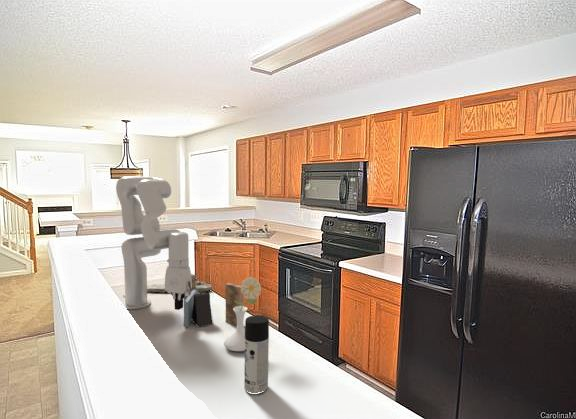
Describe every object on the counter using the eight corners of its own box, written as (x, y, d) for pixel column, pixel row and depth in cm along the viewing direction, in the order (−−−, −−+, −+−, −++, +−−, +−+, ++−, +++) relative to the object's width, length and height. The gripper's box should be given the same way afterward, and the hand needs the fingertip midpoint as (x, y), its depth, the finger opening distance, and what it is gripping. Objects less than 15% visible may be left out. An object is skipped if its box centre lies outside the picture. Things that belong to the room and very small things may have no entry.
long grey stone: (148, 290, 187) (142, 297, 177) (148, 281, 186) (141, 288, 177) (213, 287, 189) (210, 293, 179) (213, 277, 188) (210, 284, 179)
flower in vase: (225, 356, 114) (225, 282, 112) (222, 341, 125) (222, 274, 123) (263, 352, 118) (264, 280, 116) (257, 337, 129) (258, 272, 127)
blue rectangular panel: (194, 308, 156) (194, 287, 155) (198, 308, 156) (198, 287, 155) (183, 326, 136) (183, 302, 135) (188, 326, 136) (188, 302, 135)
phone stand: (212, 324, 140) (212, 295, 139) (197, 327, 137) (197, 298, 136) (205, 316, 148) (205, 289, 147) (191, 319, 145) (191, 291, 144)
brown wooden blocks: (183, 307, 158) (183, 273, 157) (187, 306, 160) (187, 272, 159) (239, 326, 138) (239, 287, 137) (243, 324, 140) (243, 286, 139)
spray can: (244, 381, 100) (244, 314, 98) (268, 381, 100) (268, 314, 99) (243, 395, 93) (243, 324, 92) (268, 395, 94) (269, 323, 92)
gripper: (156, 263, 135) (157, 308, 136) (188, 267, 129) (188, 315, 131) (169, 259, 142) (170, 302, 143) (200, 263, 136) (200, 308, 138)
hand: (178, 308), depth 137 cm, fingers closed
